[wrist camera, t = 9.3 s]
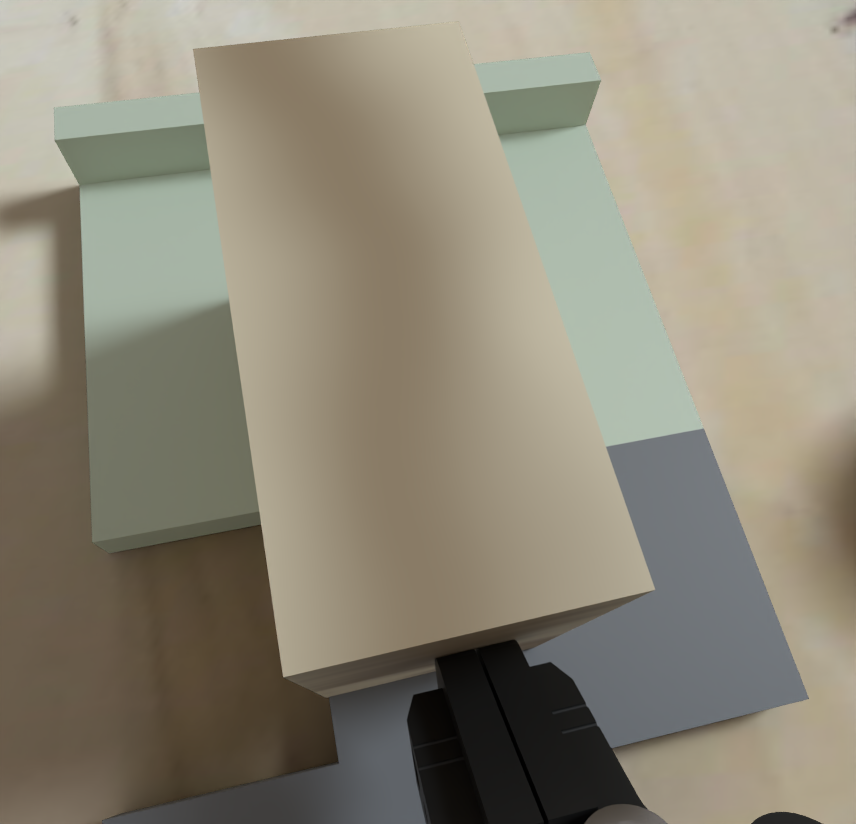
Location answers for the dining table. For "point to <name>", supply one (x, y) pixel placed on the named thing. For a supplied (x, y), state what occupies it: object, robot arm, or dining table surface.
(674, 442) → the board
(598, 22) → the dining table surface
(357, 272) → the birch block
